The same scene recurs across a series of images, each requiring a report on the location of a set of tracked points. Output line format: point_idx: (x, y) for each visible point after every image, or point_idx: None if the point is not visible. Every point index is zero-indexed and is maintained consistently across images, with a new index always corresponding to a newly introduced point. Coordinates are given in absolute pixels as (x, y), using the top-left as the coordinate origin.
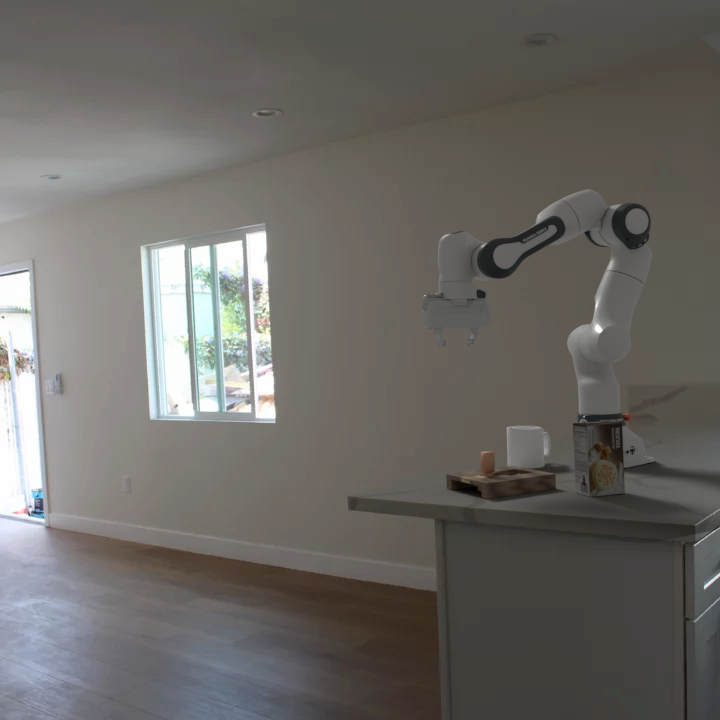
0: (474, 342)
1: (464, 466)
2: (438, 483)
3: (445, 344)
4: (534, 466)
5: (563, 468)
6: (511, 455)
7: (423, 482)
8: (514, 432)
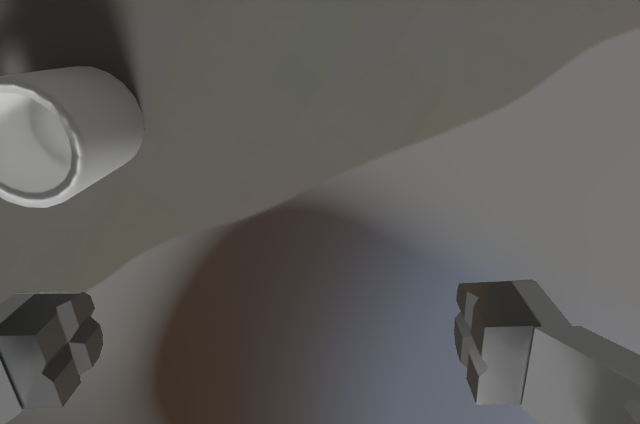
0: (19, 304)
1: (244, 206)
2: (452, 9)
3: (475, 287)
4: (88, 67)
5: (16, 11)
6: (127, 123)
7: (474, 50)
8: (82, 123)
